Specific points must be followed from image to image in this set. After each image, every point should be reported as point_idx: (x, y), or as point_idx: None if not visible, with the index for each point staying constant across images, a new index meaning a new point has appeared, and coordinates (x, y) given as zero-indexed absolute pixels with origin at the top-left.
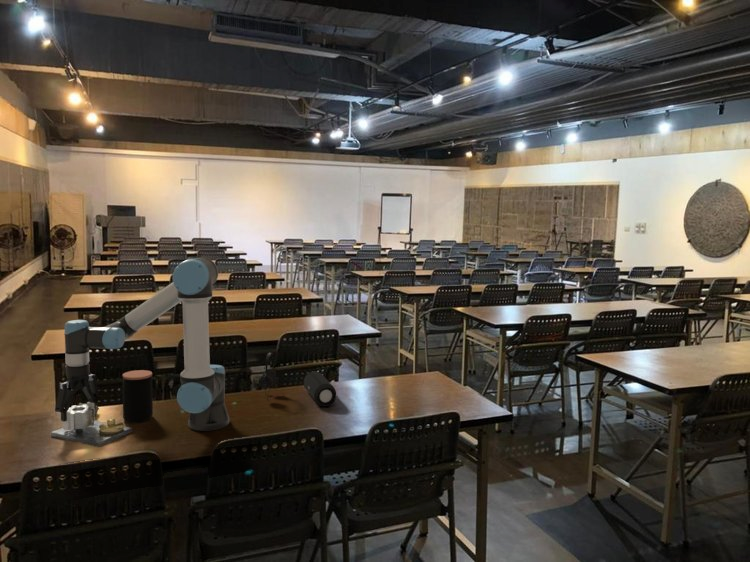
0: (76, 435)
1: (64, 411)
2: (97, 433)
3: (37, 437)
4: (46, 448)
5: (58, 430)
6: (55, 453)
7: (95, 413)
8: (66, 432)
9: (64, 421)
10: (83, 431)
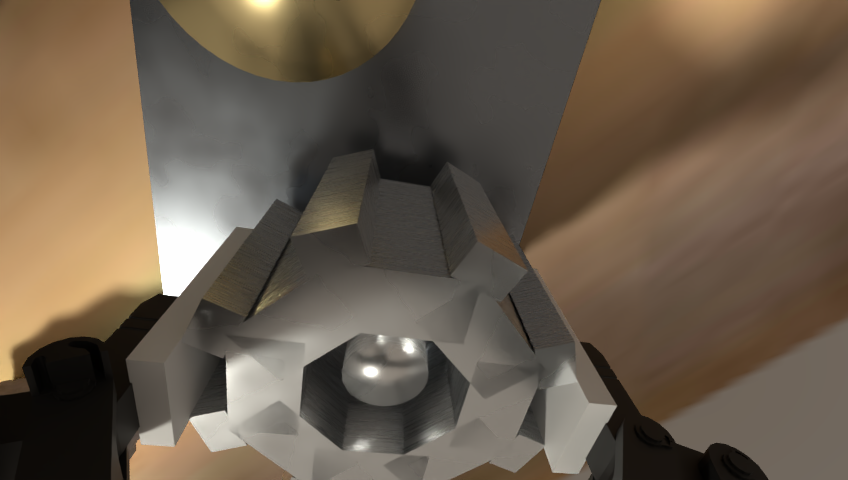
0: (497, 198)
1: (668, 438)
2: (413, 44)
3: None
4: (657, 265)
5: None
6: (750, 154)
7: (25, 379)
8: None
9: (589, 343)
10: None
